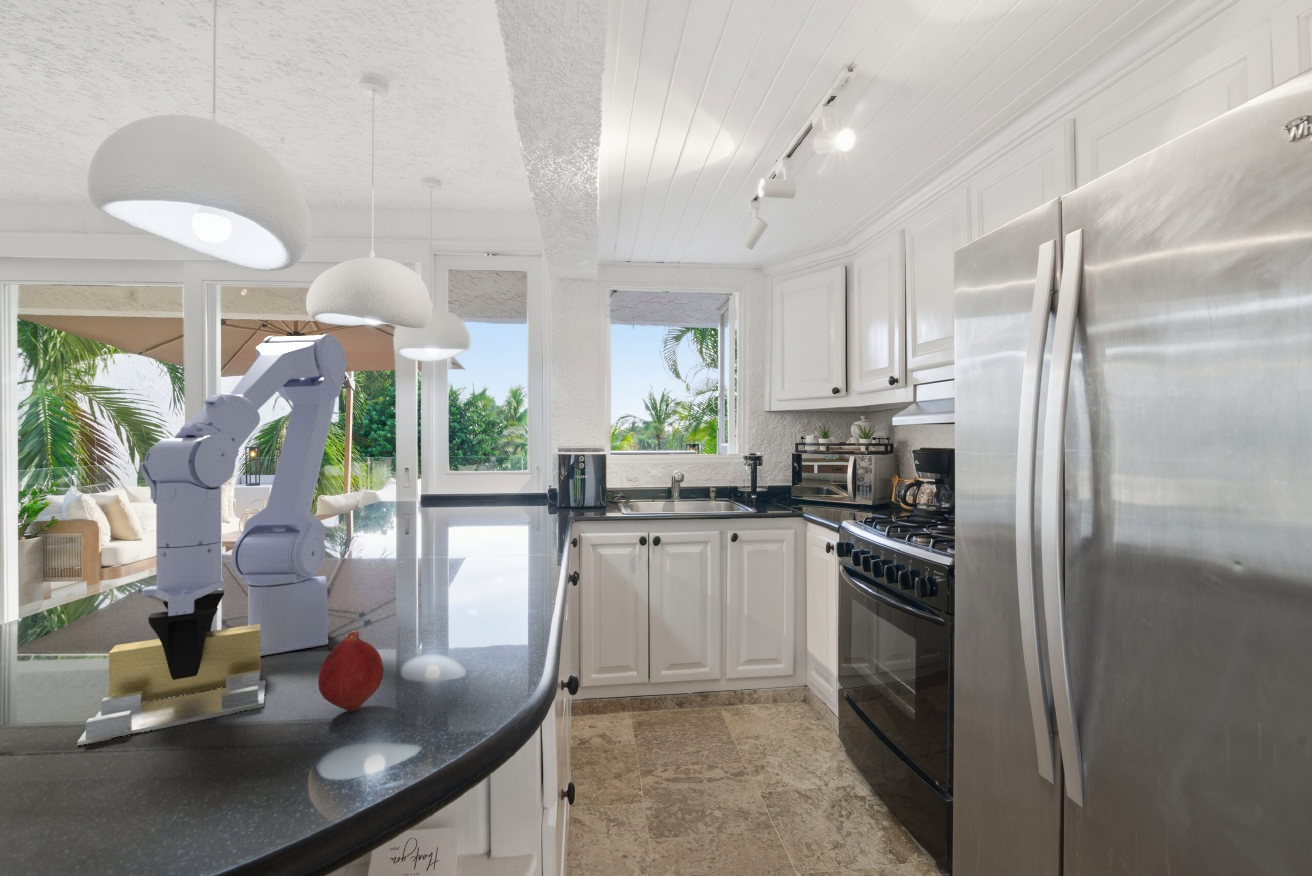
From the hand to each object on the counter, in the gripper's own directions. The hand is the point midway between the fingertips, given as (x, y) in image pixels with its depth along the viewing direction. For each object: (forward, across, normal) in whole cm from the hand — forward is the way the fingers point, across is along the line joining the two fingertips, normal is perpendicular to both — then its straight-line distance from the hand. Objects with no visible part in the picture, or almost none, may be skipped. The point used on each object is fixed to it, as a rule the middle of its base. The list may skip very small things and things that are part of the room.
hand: (189, 666), depth 66 cm
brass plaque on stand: (+3, 0, 0) cm, 3 cm away
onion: (+3, +17, +15) cm, 23 cm away
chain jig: (+3, +7, 0) cm, 7 cm away
